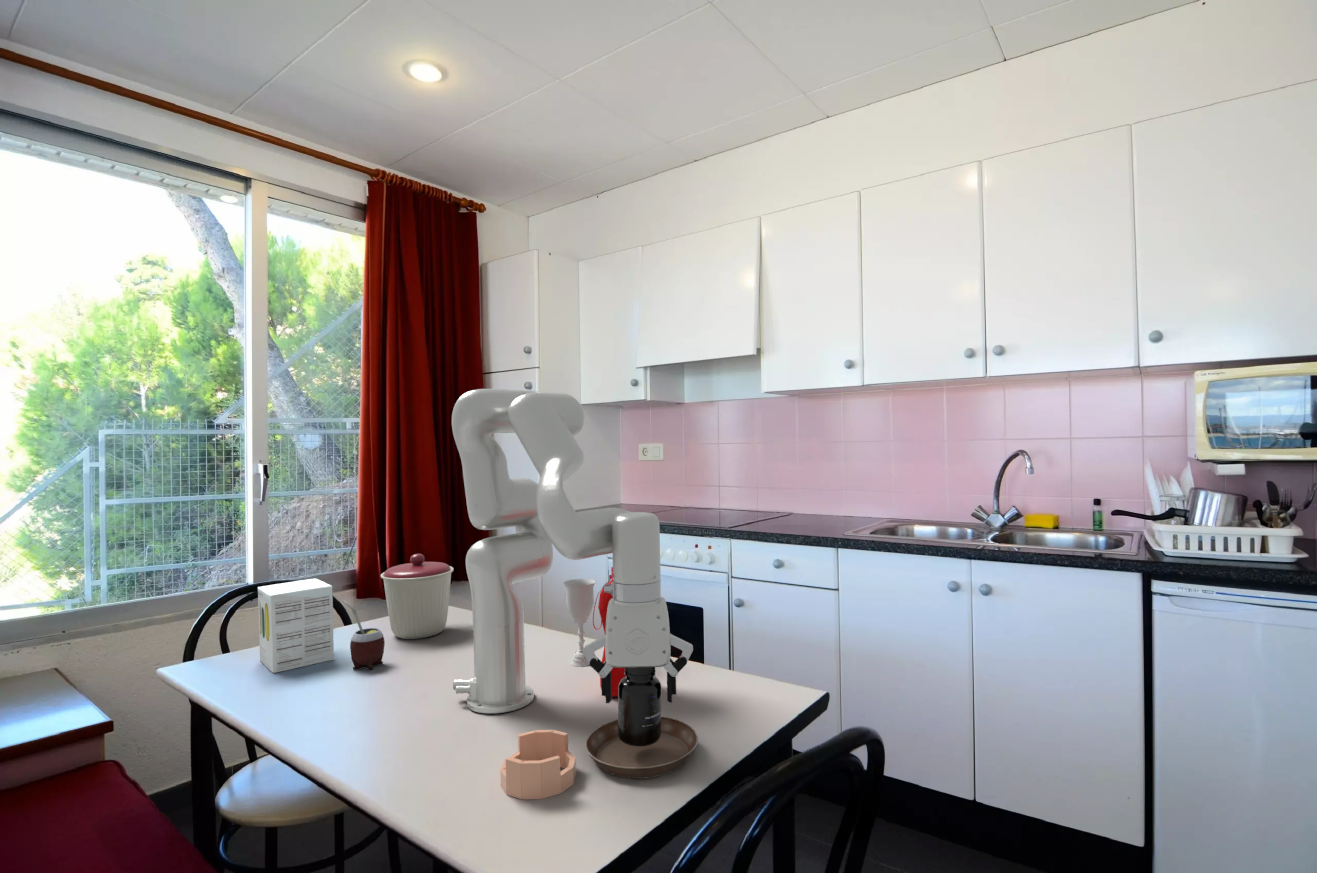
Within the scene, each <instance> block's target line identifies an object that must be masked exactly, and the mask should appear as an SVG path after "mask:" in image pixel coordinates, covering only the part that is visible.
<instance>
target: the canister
mask: <svg viewBox="0 0 1317 873" xmlns="http://www.w3.org/2000/svg"><path fill="white" fill-rule="evenodd" d="M409 561H410V562H409V563H403V564H398V565H395V566H394V565H393V566H391V567H389V568H387V569H386V570H385V571H384V572H382V573H381V574H380V578H381V579H382V580H383V585H384V593H385V599H386V607H387V613H388V614H387V615H388V620H389V625H390V630H391V632H392V633H393V634H394V636H395V637H397V638H399V639H403V640H404V639H405V640H417V639H418V640H419V639H424V638H429V637H433V636H436V635H438V634H440V633H442V632H443V631H444V629H445V627H446V625H447V621H448V615H449V614H448V613H449V603H450V592H451V591H450V590H451V583H452V582H451V581H452V580H451V578H452V573H453V572H454V567H453V566H451V565H449V564H447V563H445V562H440V561H439V562H438V561H425V556H424V554H422V553H415V554H413V555H411V556H410V559H409Z"/></svg>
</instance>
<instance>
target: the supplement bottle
mask: <svg viewBox="0 0 1317 873" xmlns="http://www.w3.org/2000/svg"><path fill="white" fill-rule="evenodd" d="M624 674H625V675H626V676H625V677H624V678H622V679H621V681H620V683H619V687H618V697H617V698H618V700H617V701H618V702H617V709H618V710H617V712H618V713H617V714H618V715H617V720H618V736H619V739H620V740H621V741H622V742H623V743H625V744H627V745H631V746H648V745H651V744H654V743H656V742H657V741H658V740H659V739H660V736H661V716H662V683H661V681H660V679H659V678H658V677H657V676H656V667H646V668H644V667H636V668H625V670H624Z"/></svg>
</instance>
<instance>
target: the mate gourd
mask: <svg viewBox="0 0 1317 873" xmlns="http://www.w3.org/2000/svg"><path fill="white" fill-rule="evenodd" d="M342 603H344V604H345V605H346V606H347V607H348V608H350V610H351V612H352V614H353V615H354V618H355V621H356V623H357V626H358V627H359V630H357V631H355V632H354V633H353V635H352V637H351V638H350V643H349V648H350V649H349V650H350V659H351V661H352V665H353V667H352V669H353V671H356V670H361V669H367V670H368V671H369V672H370V671H373V670H374V669H373V667H375V666H377V667H378V666H381V665H383V664H384V661H383V657H384V652H385V638H384V634H383V633H382V631H381V630H380V629H379V628H376V627H371V628H370V627H369V628H363V627H362V623H361V622H360V619H359V616H358V612H357V610H356V608H354V606H353V605H351V604H350V603H349V602H347V601H345V600H344V599H343V600H342Z"/></svg>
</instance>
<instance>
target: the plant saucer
mask: <svg viewBox="0 0 1317 873" xmlns="http://www.w3.org/2000/svg"><path fill="white" fill-rule="evenodd" d="M698 742H699V737H698V734H697V732H696V730H695V729H694V728H693V727H692V726H691V725H690V724H688V723H686V722H684V721H682V720H680V719H675V718H672V717H668V716H663V715H661V736H660V739H659V740H658V741H657V742H656V743H654V744H651V745H648V746H631V745H627V744H625V743H623V742H622V741H621V740H620V739H619V736H618V719H615V720H612V721H609V722H606V723H605V724H602V725H600V726H598V727H597V728H596V729H594V730H593V731H592V732H591V733H590V734H589V735H588V737H587V738H586V741H585V746H584V747H585V750H586V752H587V755H589V757H590V758H591V760H593V762H594V763H595V764H596V765H597V767H599V768H600V769H601V770H602V771H604V772H606V773H608V774H610V775H613V776H617V777H619V778H624V779H625V778H627V779H650V778H656V777H660V776H664V775H667V774H670V773H672V772H674V771H676V770H678V769H679V768H681V766H683V765H684V764H685V763H686V762H687V761H688V760H689V759H690V758H691V756H692V754H693V753H694V751H695V749H696V748H697V746H698Z"/></svg>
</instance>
